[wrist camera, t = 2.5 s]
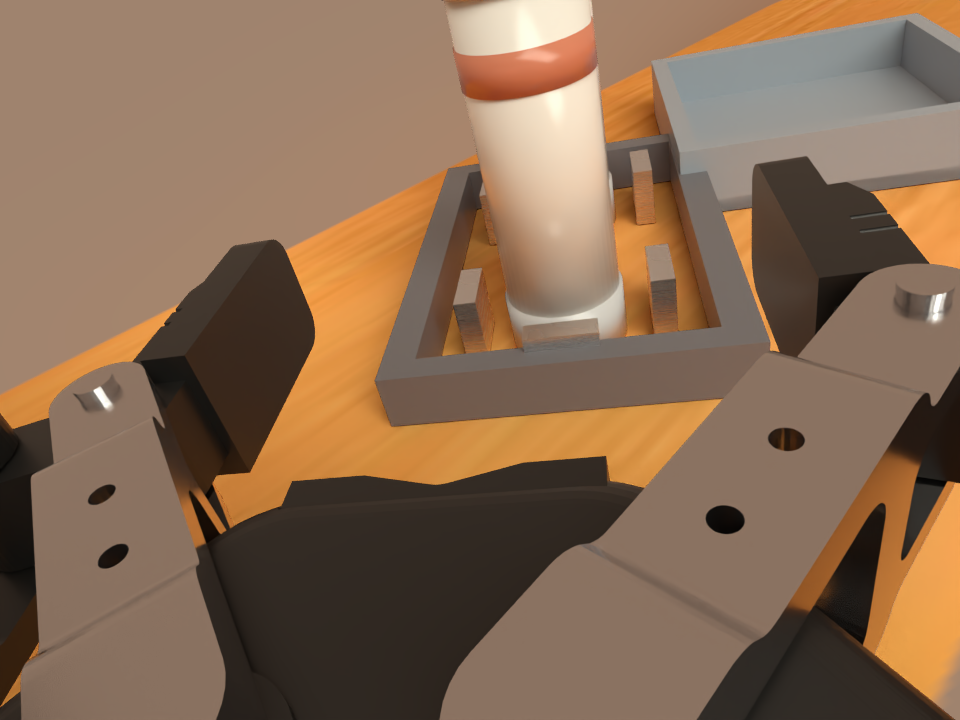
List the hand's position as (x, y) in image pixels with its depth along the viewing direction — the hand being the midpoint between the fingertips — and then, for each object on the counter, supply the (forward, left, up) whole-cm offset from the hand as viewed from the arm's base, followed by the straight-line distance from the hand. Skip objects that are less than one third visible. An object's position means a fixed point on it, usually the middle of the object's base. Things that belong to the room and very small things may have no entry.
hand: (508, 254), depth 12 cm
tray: (+12, +26, -10) cm, 30 cm away
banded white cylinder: (0, +11, -10) cm, 15 cm away
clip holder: (0, +16, -10) cm, 18 cm away
